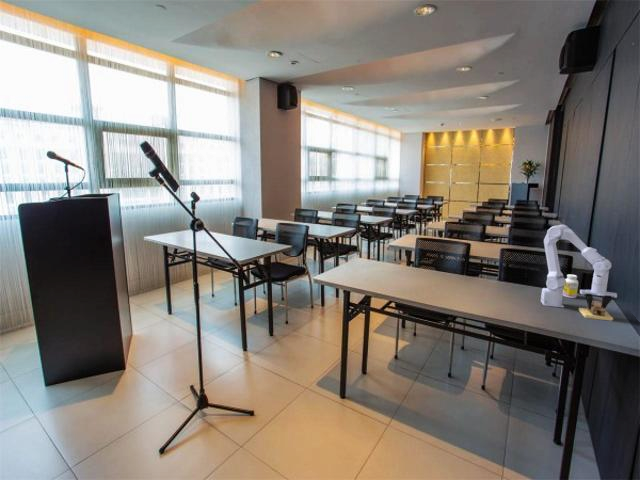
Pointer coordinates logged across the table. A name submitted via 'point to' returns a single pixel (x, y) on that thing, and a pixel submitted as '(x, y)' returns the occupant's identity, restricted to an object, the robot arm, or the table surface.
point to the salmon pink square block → (596, 304)
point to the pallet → (597, 310)
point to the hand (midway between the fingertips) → (595, 309)
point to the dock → (588, 314)
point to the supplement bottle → (571, 286)
